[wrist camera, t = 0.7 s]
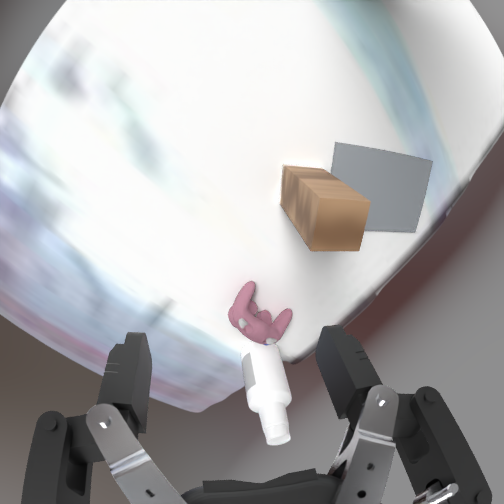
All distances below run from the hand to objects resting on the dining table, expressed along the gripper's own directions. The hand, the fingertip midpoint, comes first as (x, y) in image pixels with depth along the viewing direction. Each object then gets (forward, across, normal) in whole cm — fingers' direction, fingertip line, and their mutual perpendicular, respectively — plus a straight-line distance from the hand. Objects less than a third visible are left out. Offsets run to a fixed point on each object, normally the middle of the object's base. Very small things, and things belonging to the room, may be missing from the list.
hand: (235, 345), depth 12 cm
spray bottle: (+27, -8, +30) cm, 41 cm away
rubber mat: (+26, -23, 0) cm, 35 cm away
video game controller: (+27, -7, +19) cm, 33 cm away
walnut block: (+26, -11, 0) cm, 28 cm away
